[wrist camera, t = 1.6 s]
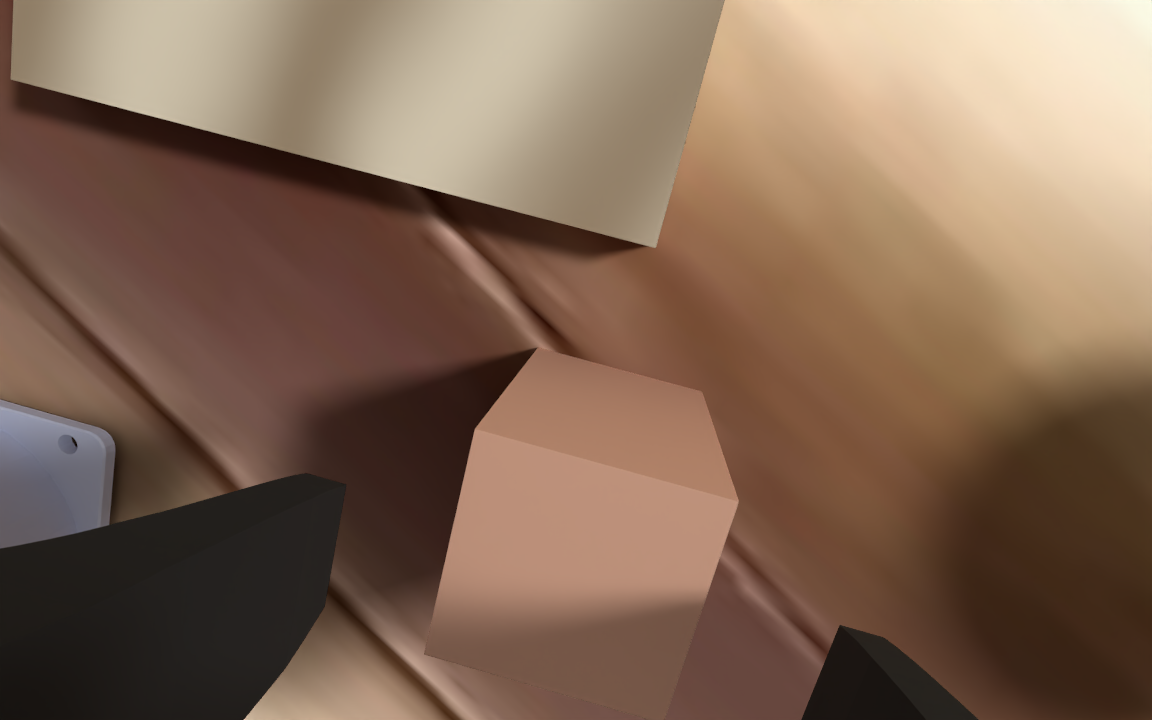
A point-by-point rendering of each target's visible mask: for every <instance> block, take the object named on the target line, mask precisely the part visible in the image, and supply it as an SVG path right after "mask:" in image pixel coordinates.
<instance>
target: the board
mask: <svg viewBox="0 0 1152 720" xmlns="http://www.w3.org/2000/svg"><path fill="white" fill-rule="evenodd" d="M724 1H725V0H14V3H13V30H12V57H11V80H15V81H19V82H23V83H26V84H30V85H34V86H38V87H42V88H46V89H49V90H53V91H57V92H61V93H65V94H69V95H72V96H76V97H80V98H84V99H88V100H91V101H95V102H99V103H103V104H107V105H111V106H114V107H118V108H122V109H126V110H130V111H134V112H137V113H141V114H145V115H149V116H153V117H156V118H160V119H164V120H168V121H172V122H176V123H179V124H183V125H187V126H191V127H195V128H199V129H202V130H206V131H210V132H214V133H218V134H221V135H225V136H229V137H233V138H237V139H241V140H244V141H248V142H252V143H256V144H260V145H264V146H267V147H271V148H275V149H279V150H283V151H286V152H290V153H294V154H298V155H302V156H306V157H309V158H313V159H317V160H321V161H325V162H329V163H332V164H336V165H340V166H344V167H348V168H351V169H355V170H359V171H363V172H367V173H371V174H374V175H378V176H382V177H386V178H390V179H393V180H397V181H401V182H405V183H409V184H413V185H416V186H420V187H424V188H428V189H432V190H436V191H439V192H443V193H447V194H451V195H455V196H458V197H462V198H466V199H470V200H474V201H478V202H481V203H485V204H489V205H493V206H497V207H501V208H504V209H508V210H512V211H516V212H520V213H523V214H527V215H531V216H535V217H539V218H543V219H546V220H550V221H554V222H558V223H562V224H566V225H569V226H573V227H577V228H581V229H585V230H588V231H592V232H596V233H600V234H604V235H608V236H611V237H615V238H619V239H623V240H627V241H631V242H634V243H638V244H642V245H646V246H650V247H653V248H656V245H657V241H658V238H659V234H660V231H661V227H662V223H663V220H664V216H665V213H666V209H667V205H668V202H669V198H670V195H671V191H672V187H673V184H674V180H675V177H676V173H677V170H678V166H679V162H680V159H681V155H682V152H683V148H684V144H685V141H686V137H687V134H688V130H689V126H690V123H691V119H692V116H693V112H694V108H695V105H696V101H697V98H698V94H699V90H700V87H701V83H702V80H703V76H704V73H705V69H706V65H707V62H708V58H709V55H710V51H711V47H712V44H713V40H714V37H715V33H716V29H717V26H718V22H719V19H720V15H721V11H722V8H723V4H724Z"/></svg>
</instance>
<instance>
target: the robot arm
mask: <svg viewBox="0 0 1152 720" xmlns="http://www.w3.org/2000/svg"><path fill="white" fill-rule="evenodd" d="M71 437H73V438H74V439H75V441H76V442H77V446H78V447H76V446H75V445H74V443H73V442H72V438H71ZM114 462H115V443H114V441H113V439H112V437H111V436H110V435H109V434H108V433H107V432H106V431H105V430H103V429H101V428H99V427H95V426H92V425H88V424H85V423H81V422H78V421H74V420H71V419H67V418H64V417H60V416H57V415H53V414H49V413H46V412H42V411H39V410H35V409H32V408H28V407H25V406H21V405H18V404H14V403H11V402H7V401H4V400H0V720H244V719H245V717H246V716H247V715H248V714H249V713H250V711H251V710H252V709H253V708H254V706H255V705H256V704H257V703H258V701H259V700H260V699H261V698H262V697H263V695H264V694H265V693H266V692H267V690H268V689H269V688H270V687H271V686H272V684H273V683H274V682H275V681H276V679H277V678H278V677H279V676H280V674H281V673H282V672H283V671H284V669H285V668H286V666H287V665H288V663H289V662H290V660H291V659H292V657H293V656H294V654H295V653H296V651H297V650H298V648H299V647H300V645H301V644H302V642H303V641H304V639H305V637H306V636H307V634H308V633H309V631H310V629H311V628H312V626H313V624H314V623H315V621H316V620H317V618H318V616H319V615H320V613H321V612H322V610H323V608H324V607H325V601H326V596H327V590H328V585H329V579H330V573H331V568H332V562H333V557H334V551H335V546H336V540H337V534H338V529H339V523H340V518H341V512H342V506H343V501H344V495H345V490H346V484H342V483H339V482H335V481H332V480H328V479H325V478H321V477H318V476H314V475H311V474H307V473H305V474H300V475H294V476H289V477H285V478H281V479H277V480H273V481H270V482H266V483H262V484H259V485H255V486H252V487H248V488H245V489H241V490H238V491H234V492H231V493H227V494H224V495H220V496H217V497H213V498H210V499H206V500H203V501H199V502H196V503H192V504H189V505H185V506H182V507H178V508H174V509H171V510H167V511H164V512H160V513H155V514H151V515H147V516H143V517H139V518H135V519H131V520H127V521H123V522H119V523H115V524H111V525H109V521H110V509H111V497H112V486H113V474H114ZM802 720H978V719H977V718H976V717H975V716H974V715H973V714H972V713H971V712H970V711H969V710H967V709H966V708H965V707H964V706H963V705H962V704H961V703H960V702H959V701H958V700H956V699H955V698H954V697H953V696H952V695H951V694H950V693H949V692H948V691H947V690H946V689H944V688H943V687H942V686H941V685H940V684H939V683H938V682H937V681H936V680H934V679H933V678H932V677H931V676H930V675H929V674H928V673H927V672H925V671H924V670H923V669H922V668H921V667H920V666H919V665H917V664H916V663H915V662H914V661H913V660H912V659H910V658H909V657H908V656H907V655H906V654H904V653H903V652H902V651H901V650H900V649H898V648H897V647H896V646H894V645H893V644H892V643H890V642H889V641H888V640H886V639H885V638H883V637H880V636H877V635H873V634H870V633H866V632H863V631H859V630H856V629H852V628H849V627H845V626H841V625H840V626H839V628H838V631H837V633H836V636H835V638H834V641H833V643H832V645H831V648H830V650H829V653H828V655H827V658H826V660H825V663H824V665H823V668H822V670H821V673H820V675H819V678H818V680H817V683H816V685H815V688H814V690H813V692H812V695H811V697H810V700H809V702H808V705H807V707H806V710H805V712H804V715H803V717H802Z"/></svg>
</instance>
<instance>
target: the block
mask: <svg viewBox="0 0 1152 720" xmlns="http://www.w3.org/2000/svg"><path fill="white" fill-rule="evenodd" d="M738 502H739V501H738V498H737V495H736V492H735V489H734V486H733V483H732V480H731V477H730V474H729V471H728V468H727V465H726V462H725V459H724V456H723V453H722V450H721V447H720V444H719V441H718V438H717V435H716V432H715V429H714V426H713V423H712V420H711V417H710V414H709V411H708V408H707V405H706V402H705V399H704V396H703V393H702V392H701V391H698V390H694V389H690V388H687V387H683V386H679V385H675V384H672V383H668V382H664V381H661V380H657V379H653V378H649V377H646V376H642V375H638V374H635V373H631V372H627V371H623V370H620V369H616V368H612V367H609V366H605V365H601V364H597V363H594V362H590V361H586V360H583V359H579V358H575V357H571V356H568V355H564V354H560V353H557V352H553V351H549V350H545V349H542V348H537V349H536V351H535V352H534V353H533V355H532V356H531V357H530V358H529V360H528V361H527V362H526V364H525V365H524V366H523V367H522V369H521V370H520V371H519V373H518V374H517V375H516V376H515V378H514V379H513V380H512V382H511V383H510V384H509V386H508V387H507V388H506V389H505V391H504V392H503V393H502V395H501V396H500V397H499V398H498V400H497V401H496V402H495V404H494V405H493V406H492V407H491V409H490V410H489V411H488V413H487V414H486V415H485V417H484V418H483V419H482V420H481V422H480V423H479V424H478V426H477V427H476V428H475V431H474V435H473V440H472V444H471V449H470V453H469V457H468V462H467V466H466V471H465V475H464V480H463V484H462V488H461V493H460V497H459V502H458V506H457V511H456V515H455V519H454V524H453V528H452V533H451V537H450V542H449V546H448V550H447V555H446V559H445V564H444V568H443V573H442V577H441V581H440V586H439V590H438V595H437V599H436V604H435V608H434V612H433V617H432V621H431V626H430V630H429V635H428V639H427V643H426V648H425V652H424V654H425V655H428V656H432V657H435V658H438V659H442V660H445V661H449V662H452V663H456V664H459V665H462V666H466V667H469V668H473V669H476V670H480V671H483V672H487V673H490V674H493V675H497V676H500V677H504V678H507V679H511V680H514V681H518V682H521V683H524V684H528V685H531V686H535V687H538V688H542V689H545V690H549V691H552V692H555V693H559V694H562V695H566V696H569V697H573V698H576V699H579V700H583V701H586V702H590V703H593V704H597V705H600V706H604V707H607V708H610V709H614V710H617V711H621V712H624V713H628V714H631V715H635V716H638V717H641V718H645V719H648V720H664V719H665V717H666V714H667V711H668V708H669V705H670V702H671V699H672V696H673V693H674V690H675V687H676V684H677V681H678V678H679V675H680V673H681V670H682V667H683V664H684V661H685V658H686V655H687V652H688V649H689V646H690V643H691V640H692V637H693V634H694V631H695V629H696V626H697V623H698V620H699V617H700V614H701V611H702V608H703V605H704V602H705V599H706V596H707V593H708V590H709V588H710V585H711V582H712V579H713V576H714V573H715V570H716V567H717V564H718V561H719V558H720V555H721V552H722V549H723V546H724V544H725V541H726V538H727V535H728V532H729V529H730V526H731V523H732V520H733V517H734V514H735V511H736V508H737V505H738Z"/></svg>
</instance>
